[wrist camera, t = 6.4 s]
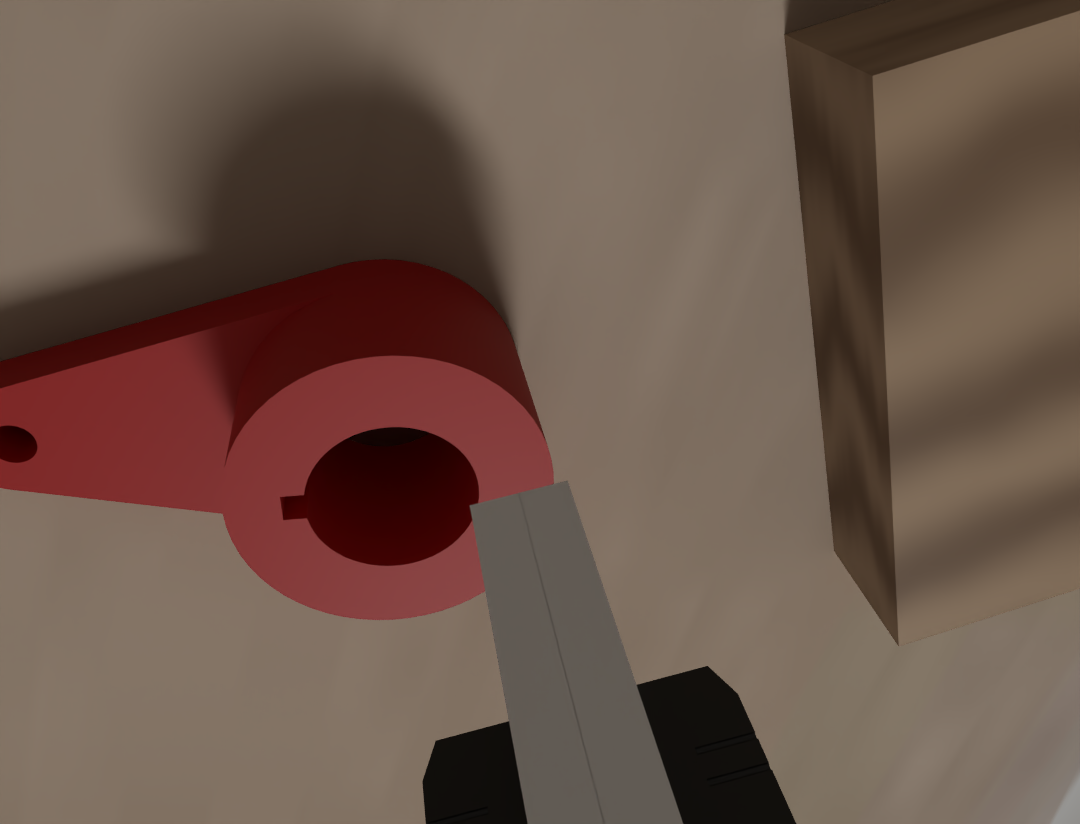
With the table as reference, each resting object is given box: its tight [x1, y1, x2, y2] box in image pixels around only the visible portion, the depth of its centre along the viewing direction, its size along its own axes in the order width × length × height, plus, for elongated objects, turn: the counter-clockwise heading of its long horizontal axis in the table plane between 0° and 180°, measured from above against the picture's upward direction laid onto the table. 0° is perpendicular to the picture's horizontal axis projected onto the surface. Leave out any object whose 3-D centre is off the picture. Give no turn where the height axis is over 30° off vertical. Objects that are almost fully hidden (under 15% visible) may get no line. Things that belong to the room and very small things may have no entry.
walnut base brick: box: [784, 0, 1080, 646], centre depth 32 cm, size 22×14×6 cm, turn 14°
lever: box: [0, 259, 554, 620], centre depth 29 cm, size 18×9×7 cm, turn 88°
